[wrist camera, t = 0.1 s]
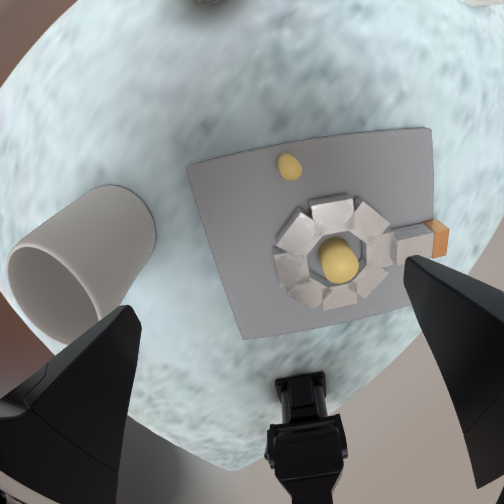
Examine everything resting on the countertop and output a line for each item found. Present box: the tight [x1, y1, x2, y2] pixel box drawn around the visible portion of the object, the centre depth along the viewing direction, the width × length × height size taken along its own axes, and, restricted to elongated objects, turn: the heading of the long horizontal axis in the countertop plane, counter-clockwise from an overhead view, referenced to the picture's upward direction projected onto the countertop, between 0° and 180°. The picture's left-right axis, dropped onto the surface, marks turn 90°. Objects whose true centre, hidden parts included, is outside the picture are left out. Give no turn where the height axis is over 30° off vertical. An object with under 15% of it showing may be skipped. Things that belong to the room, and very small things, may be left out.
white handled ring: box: [273, 194, 449, 310], centre depth 21 cm, size 10×15×2 cm, turn 103°
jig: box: [186, 128, 434, 340], centre depth 22 cm, size 18×20×4 cm
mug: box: [6, 185, 156, 346], centre depth 19 cm, size 12×8×11 cm
